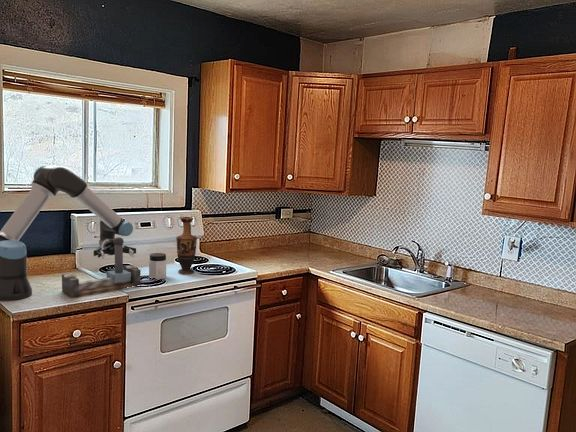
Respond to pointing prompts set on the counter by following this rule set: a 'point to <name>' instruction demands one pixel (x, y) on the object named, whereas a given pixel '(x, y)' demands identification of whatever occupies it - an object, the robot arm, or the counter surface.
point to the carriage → (119, 264)
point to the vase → (186, 247)
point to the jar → (157, 265)
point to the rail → (97, 283)
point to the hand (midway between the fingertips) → (118, 255)
